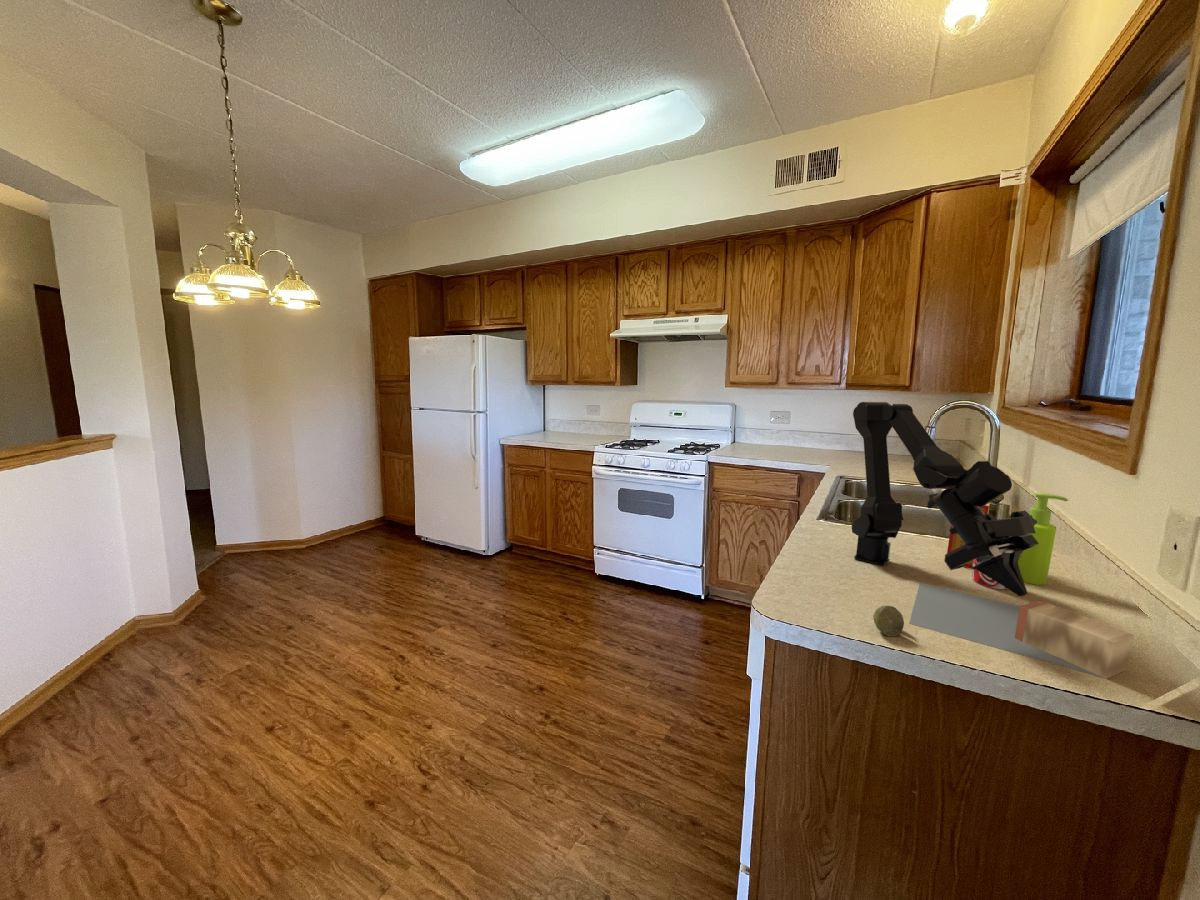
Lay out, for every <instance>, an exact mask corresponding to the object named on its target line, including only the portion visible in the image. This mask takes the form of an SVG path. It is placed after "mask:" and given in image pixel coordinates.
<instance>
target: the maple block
mask: <svg viewBox="0 0 1200 900" xmlns="http://www.w3.org/2000/svg"><path fill="white" fill-rule="evenodd" d="M1019 606H1020V609H1019V615H1018V621H1017V626H1016V632H1015V638H1016V639H1018V640H1020V641H1022V642H1025V643H1027V644H1029V645H1031V646H1034V647H1036V648H1038V649H1040V650H1043V651H1045V652H1047V653H1049V654H1052V655H1054V656H1056V657H1058V658H1061V659H1063V660H1065V661H1067V662H1070V663H1072V664H1074V665H1076V666H1079V667H1081V668H1083V669H1085V670H1088V671H1090V672H1092V673H1094V674H1097V675H1099V676H1101V677H1100V678H1102V677H1104V678H1103V679H1105V678H1106V679H1107V678H1109V677H1110V678H1111V677H1113V676H1116V675H1118V674H1120V673H1123V672H1125V671H1127V669H1128V664H1129V659H1130V655H1131V651H1132V646H1133V643H1134V642H1133V640H1134V637H1135V634H1133V633H1130V632H1128V631H1125V630H1122V629H1119V628H1117V627H1114V626H1111V625H1109V624H1106V623H1103V622H1101V621H1098V620H1095V619H1092V618H1090V617H1087V616H1084V615H1081V614H1079V613H1077V612H1073V611H1072V610H1071V611H1070V610H1068V609H1065V608H1062V607H1060V606H1058V605H1054V604H1051V603H1048V602H1046V601H1044V600H1041V599H1039V600H1036V601H1033V602H1029V603H1027V604H1023V605H1019ZM1107 680H1108V679H1107Z"/></svg>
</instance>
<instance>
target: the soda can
mask: <svg viewBox="0 0 1200 900" xmlns="http://www.w3.org/2000/svg"><path fill="white" fill-rule="evenodd" d="M976 561H977V560H976V559H974V562H973V567H974V566H976V565H978V564H977V562H976ZM971 579H972V581H974V583H976V584H978V585H981V586H983V587H987V588H990V589H994V590H995V589H996V590H1008V589H1007V588H1006V587H1004V586H1003V585H1001V584H1000V583H998V582H996V581H995V580H993V579H991V578H990V577H988V576H986V575H985V574H983V573H981V572H979V571H978V570H973V569H972V568H971Z"/></svg>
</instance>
